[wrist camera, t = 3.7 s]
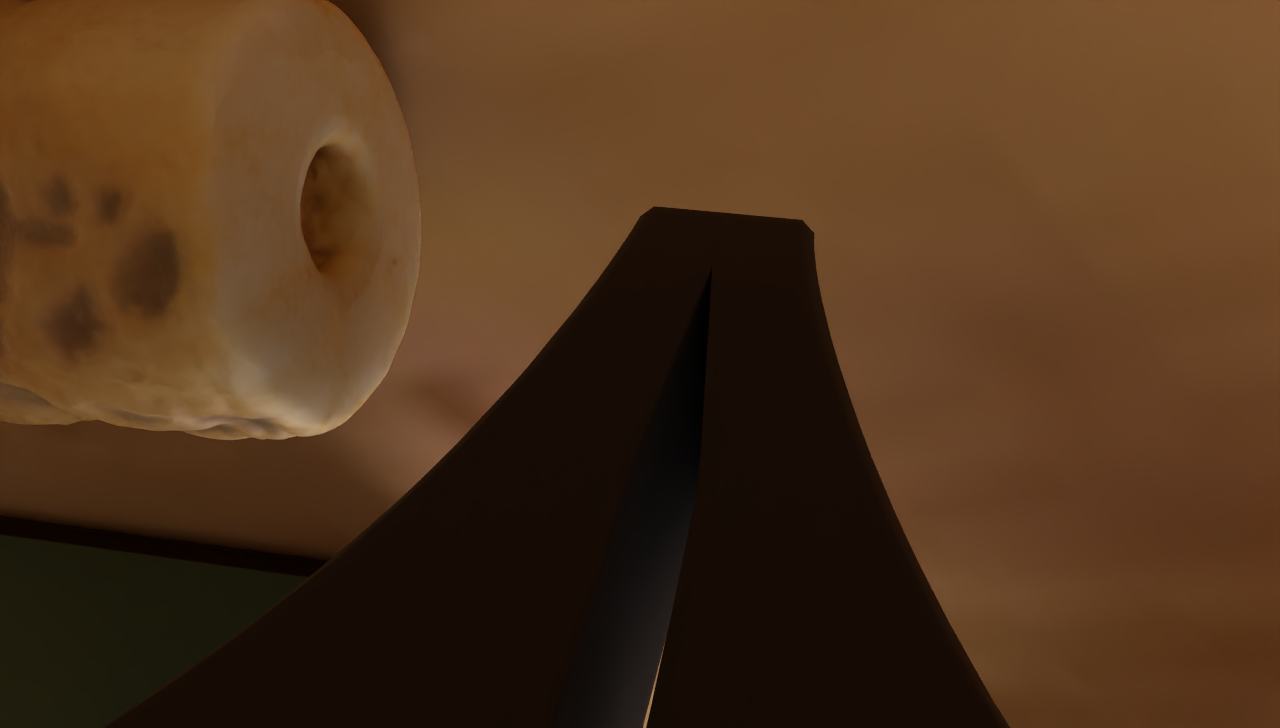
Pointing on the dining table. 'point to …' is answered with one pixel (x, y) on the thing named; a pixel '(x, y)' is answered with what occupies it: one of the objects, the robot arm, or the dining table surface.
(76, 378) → the tan cylinder with hole
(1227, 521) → the dining table surface
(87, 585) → the toaster
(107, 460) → the dining table surface
